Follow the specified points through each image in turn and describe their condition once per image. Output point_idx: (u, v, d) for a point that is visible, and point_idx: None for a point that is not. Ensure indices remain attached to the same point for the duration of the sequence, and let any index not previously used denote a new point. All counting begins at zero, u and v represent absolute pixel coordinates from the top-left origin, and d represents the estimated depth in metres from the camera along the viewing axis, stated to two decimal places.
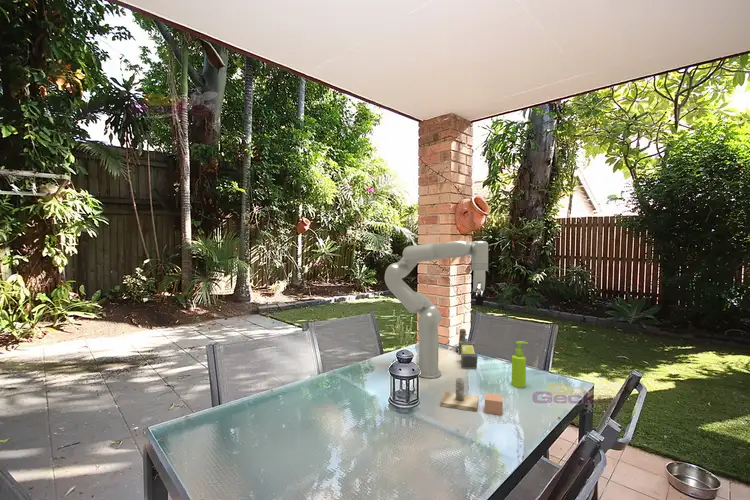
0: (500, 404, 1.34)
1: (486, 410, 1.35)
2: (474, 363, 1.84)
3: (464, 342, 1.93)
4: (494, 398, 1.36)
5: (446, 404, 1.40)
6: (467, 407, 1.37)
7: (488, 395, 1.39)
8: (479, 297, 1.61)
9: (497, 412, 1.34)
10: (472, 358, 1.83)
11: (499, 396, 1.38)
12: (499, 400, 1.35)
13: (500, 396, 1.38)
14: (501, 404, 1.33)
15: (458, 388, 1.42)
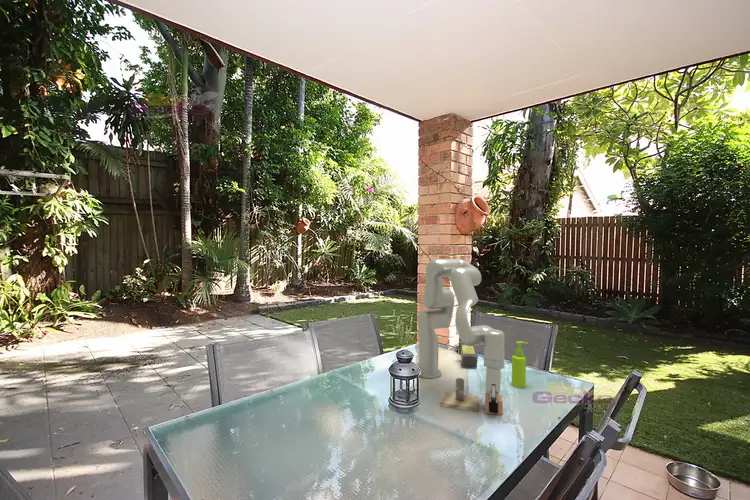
0: (500, 404, 1.34)
1: (486, 410, 1.35)
2: (474, 363, 1.84)
3: None
4: None
5: (446, 404, 1.40)
6: (467, 407, 1.37)
7: (488, 395, 1.39)
8: (493, 403, 1.33)
9: None
10: (472, 358, 1.83)
11: (499, 396, 1.38)
12: (499, 400, 1.35)
13: (500, 396, 1.38)
14: (501, 404, 1.33)
15: (458, 388, 1.42)
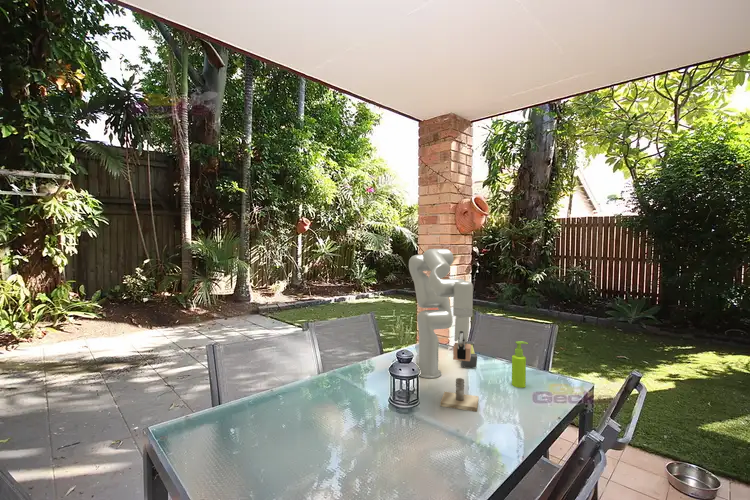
0: (468, 351, 1.39)
1: (454, 357, 1.41)
2: (474, 363, 1.84)
3: None
4: None
5: (446, 404, 1.40)
6: (467, 407, 1.37)
7: (457, 344, 1.45)
8: (461, 350, 1.39)
9: None
10: (471, 358, 1.83)
11: (468, 345, 1.44)
12: (467, 347, 1.40)
13: (468, 345, 1.44)
14: (469, 351, 1.39)
15: (458, 388, 1.42)
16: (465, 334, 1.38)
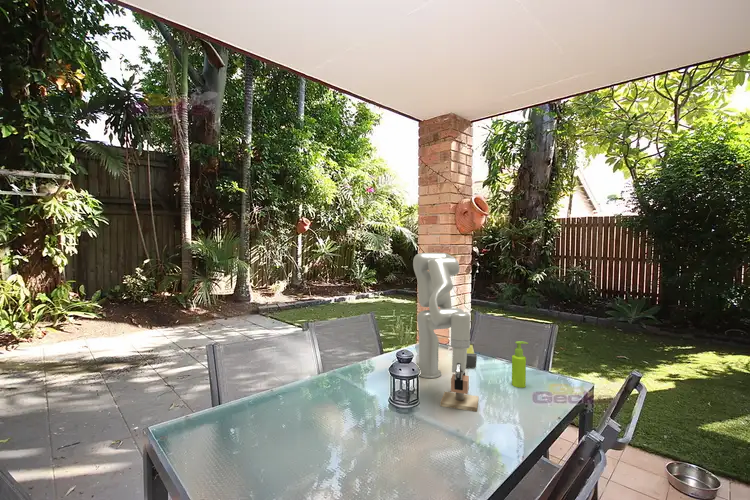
0: (465, 383, 1.40)
1: (452, 389, 1.41)
2: (473, 363, 1.84)
3: None
4: None
5: (446, 404, 1.40)
6: (467, 407, 1.37)
7: None
8: (458, 381, 1.38)
9: (462, 391, 1.40)
10: (471, 357, 1.83)
11: (465, 376, 1.44)
12: (464, 380, 1.41)
13: (466, 376, 1.44)
14: (466, 383, 1.40)
15: None
16: (462, 366, 1.38)
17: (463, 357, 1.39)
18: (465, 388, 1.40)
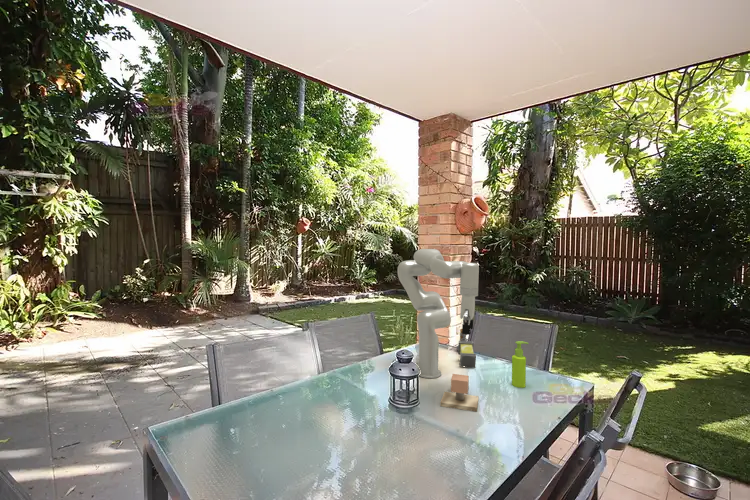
0: (465, 383, 1.40)
1: (452, 389, 1.41)
2: (473, 363, 1.84)
3: (463, 342, 1.94)
4: (460, 378, 1.42)
5: (446, 404, 1.40)
6: (467, 407, 1.37)
7: (455, 375, 1.45)
8: (466, 326, 1.47)
9: (462, 391, 1.40)
10: (470, 357, 1.83)
11: (465, 376, 1.44)
12: (465, 380, 1.41)
13: (466, 376, 1.44)
14: (466, 383, 1.40)
15: None
16: (470, 312, 1.47)
17: (471, 304, 1.47)
18: (465, 388, 1.40)
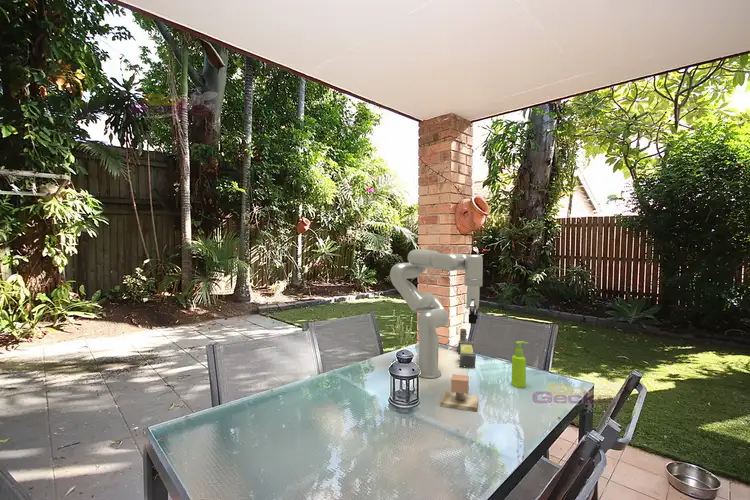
0: (466, 383, 1.40)
1: (453, 389, 1.41)
2: (472, 363, 1.85)
3: (463, 342, 1.94)
4: (460, 378, 1.43)
5: (446, 404, 1.40)
6: (467, 407, 1.37)
7: (455, 376, 1.45)
8: (472, 315, 1.51)
9: (463, 391, 1.40)
10: (470, 357, 1.84)
11: (465, 376, 1.44)
12: (465, 379, 1.41)
13: (466, 376, 1.45)
14: (466, 383, 1.40)
15: None
16: (476, 301, 1.52)
17: (476, 294, 1.52)
18: (465, 388, 1.40)
